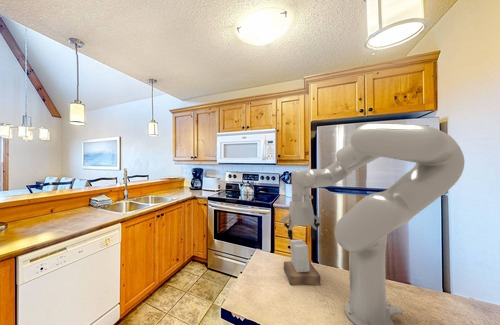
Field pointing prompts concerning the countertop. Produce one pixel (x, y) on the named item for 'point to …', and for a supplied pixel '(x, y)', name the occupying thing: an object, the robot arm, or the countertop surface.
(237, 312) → the countertop surface
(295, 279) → the walnut block
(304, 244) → the small box
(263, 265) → the countertop surface
